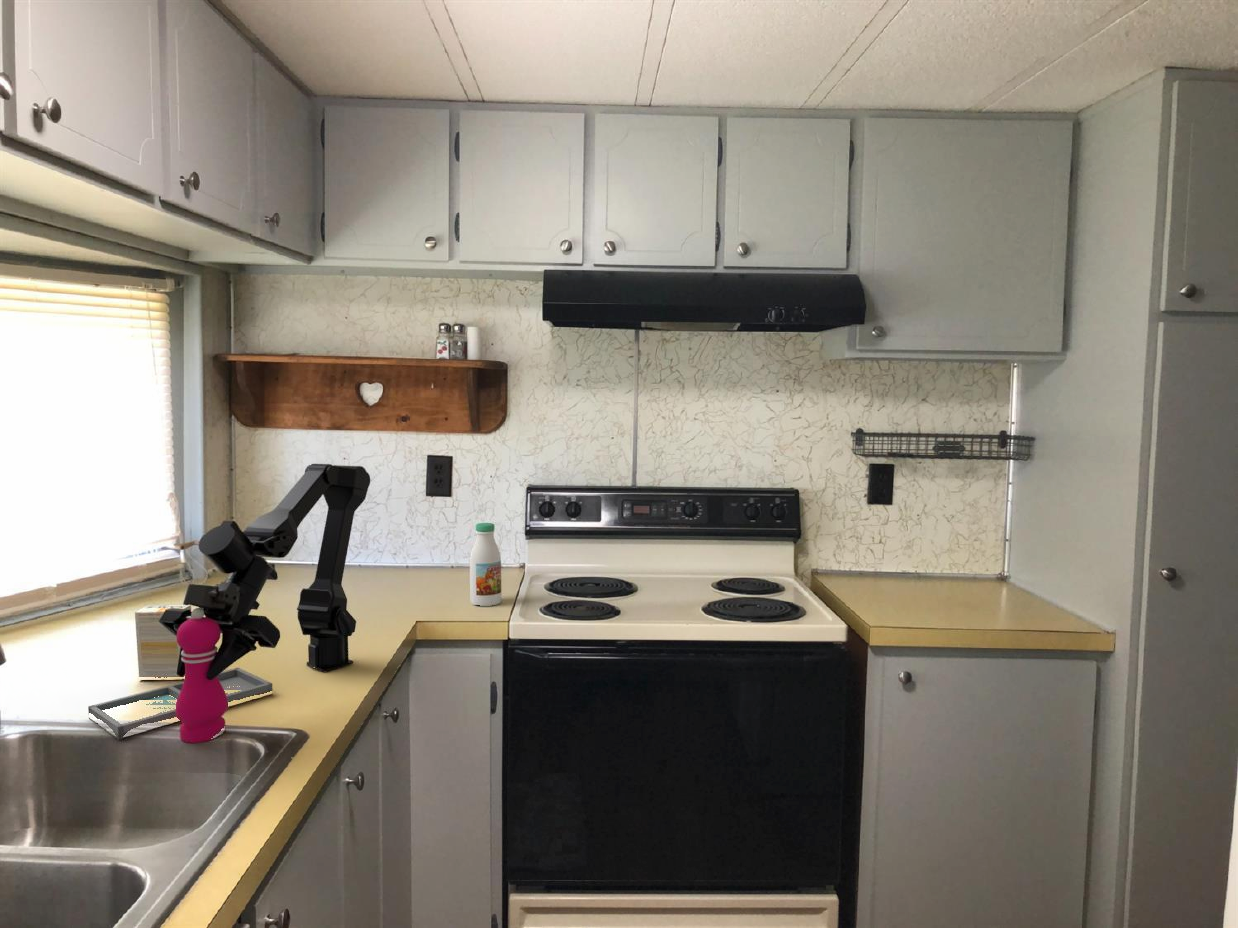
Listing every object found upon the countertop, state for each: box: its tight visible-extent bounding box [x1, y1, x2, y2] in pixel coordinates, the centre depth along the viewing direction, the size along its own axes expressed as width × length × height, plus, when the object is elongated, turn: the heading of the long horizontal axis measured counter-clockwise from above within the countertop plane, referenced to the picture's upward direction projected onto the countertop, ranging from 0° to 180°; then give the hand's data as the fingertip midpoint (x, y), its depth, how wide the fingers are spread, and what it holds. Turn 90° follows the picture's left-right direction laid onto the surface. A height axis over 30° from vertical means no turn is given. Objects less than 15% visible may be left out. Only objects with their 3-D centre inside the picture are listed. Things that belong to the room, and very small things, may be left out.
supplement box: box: [134, 604, 192, 678], centre depth 152 cm, size 8×5×13 cm, turn 92°
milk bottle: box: [469, 522, 502, 607], centre depth 204 cm, size 8×8×20 cm
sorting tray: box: [87, 667, 274, 741], centre depth 138 cm, size 24×13×2 cm, turn 140°
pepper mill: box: [175, 607, 229, 744], centre depth 126 cm, size 7×7×20 cm
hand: (193, 677), depth 125 cm, fingers closed on pepper mill, 5 cm apart
